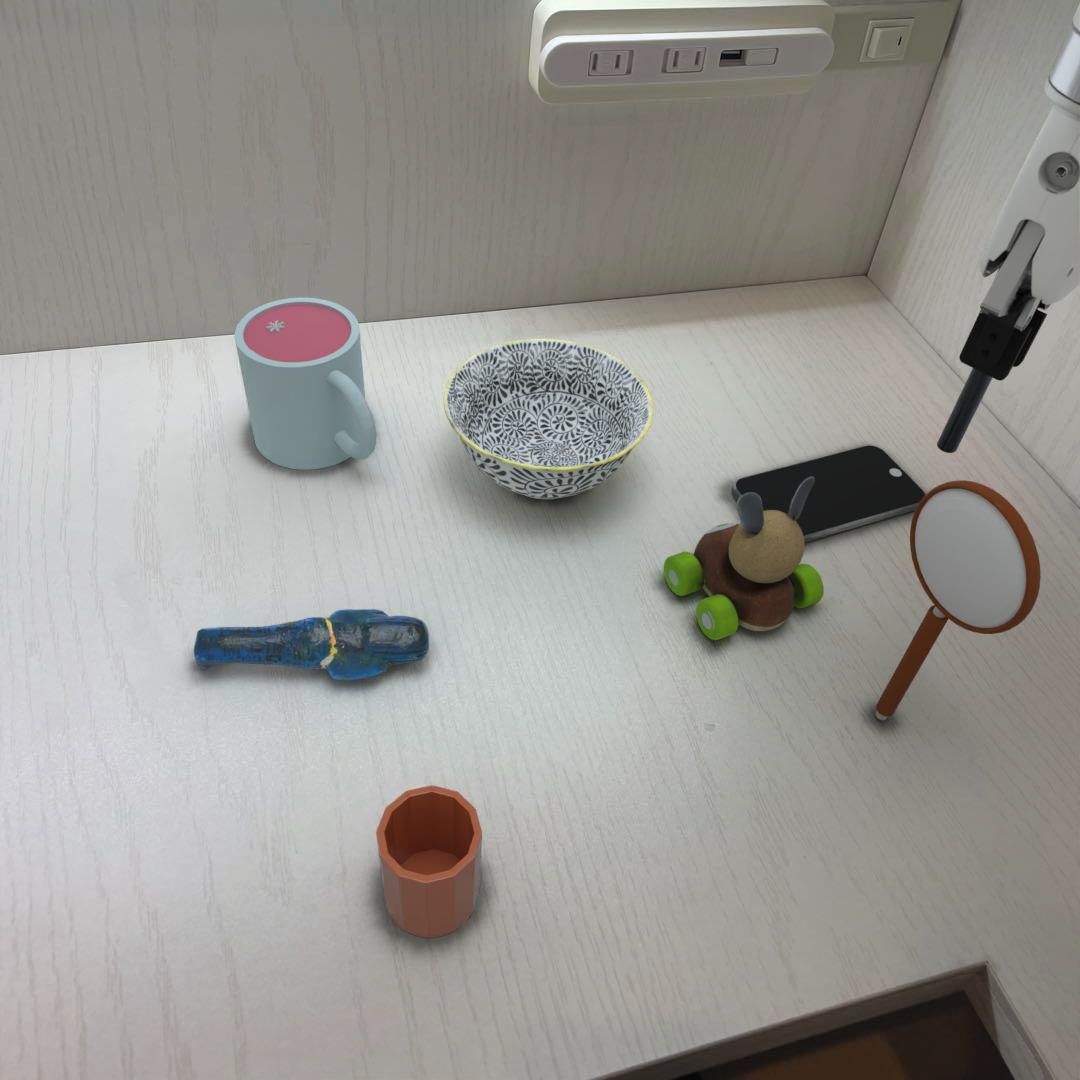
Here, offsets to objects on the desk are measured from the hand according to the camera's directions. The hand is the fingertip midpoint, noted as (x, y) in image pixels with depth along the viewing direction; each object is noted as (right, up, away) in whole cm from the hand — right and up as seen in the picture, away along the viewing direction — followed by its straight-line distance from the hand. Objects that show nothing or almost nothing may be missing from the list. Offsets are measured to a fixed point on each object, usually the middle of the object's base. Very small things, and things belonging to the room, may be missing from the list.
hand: (989, 361), depth 64 cm
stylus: (-1, -5, +6) cm, 8 cm away
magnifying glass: (-7, -24, +1) cm, 25 cm away
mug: (-47, -4, +16) cm, 50 cm away
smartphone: (-6, -8, +15) cm, 18 cm away
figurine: (-45, -20, +1) cm, 49 cm away
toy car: (-15, -16, +8) cm, 23 cm away
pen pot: (-36, -31, -9) cm, 49 cm away
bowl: (-29, -6, +16) cm, 34 cm away
